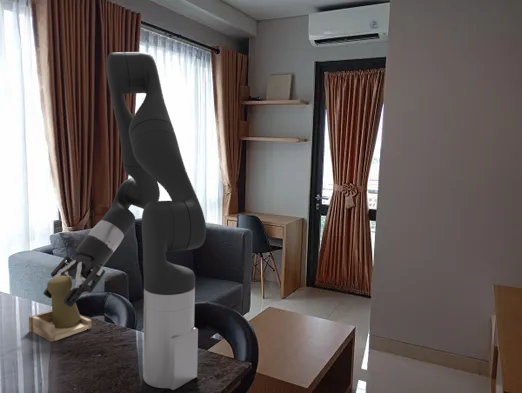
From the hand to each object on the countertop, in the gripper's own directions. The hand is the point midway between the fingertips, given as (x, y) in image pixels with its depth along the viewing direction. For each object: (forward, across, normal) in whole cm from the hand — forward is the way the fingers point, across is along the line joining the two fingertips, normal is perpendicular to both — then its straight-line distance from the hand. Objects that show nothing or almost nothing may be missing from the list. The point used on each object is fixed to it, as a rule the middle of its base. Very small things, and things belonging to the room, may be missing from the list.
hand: (56, 300), depth 98 cm
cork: (+2, -1, +6) cm, 7 cm away
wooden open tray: (+4, 0, +6) cm, 8 cm away
